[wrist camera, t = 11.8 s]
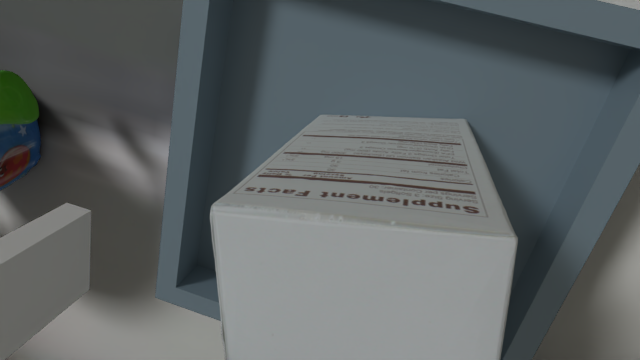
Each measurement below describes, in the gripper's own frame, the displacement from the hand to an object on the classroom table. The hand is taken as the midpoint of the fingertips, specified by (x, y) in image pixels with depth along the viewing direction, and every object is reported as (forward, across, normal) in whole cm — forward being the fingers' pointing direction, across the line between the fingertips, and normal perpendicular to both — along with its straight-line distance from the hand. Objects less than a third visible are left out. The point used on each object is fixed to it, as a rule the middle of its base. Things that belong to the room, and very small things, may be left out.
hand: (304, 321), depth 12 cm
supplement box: (+12, +2, 0) cm, 12 cm away
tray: (+13, +1, 0) cm, 13 cm away
